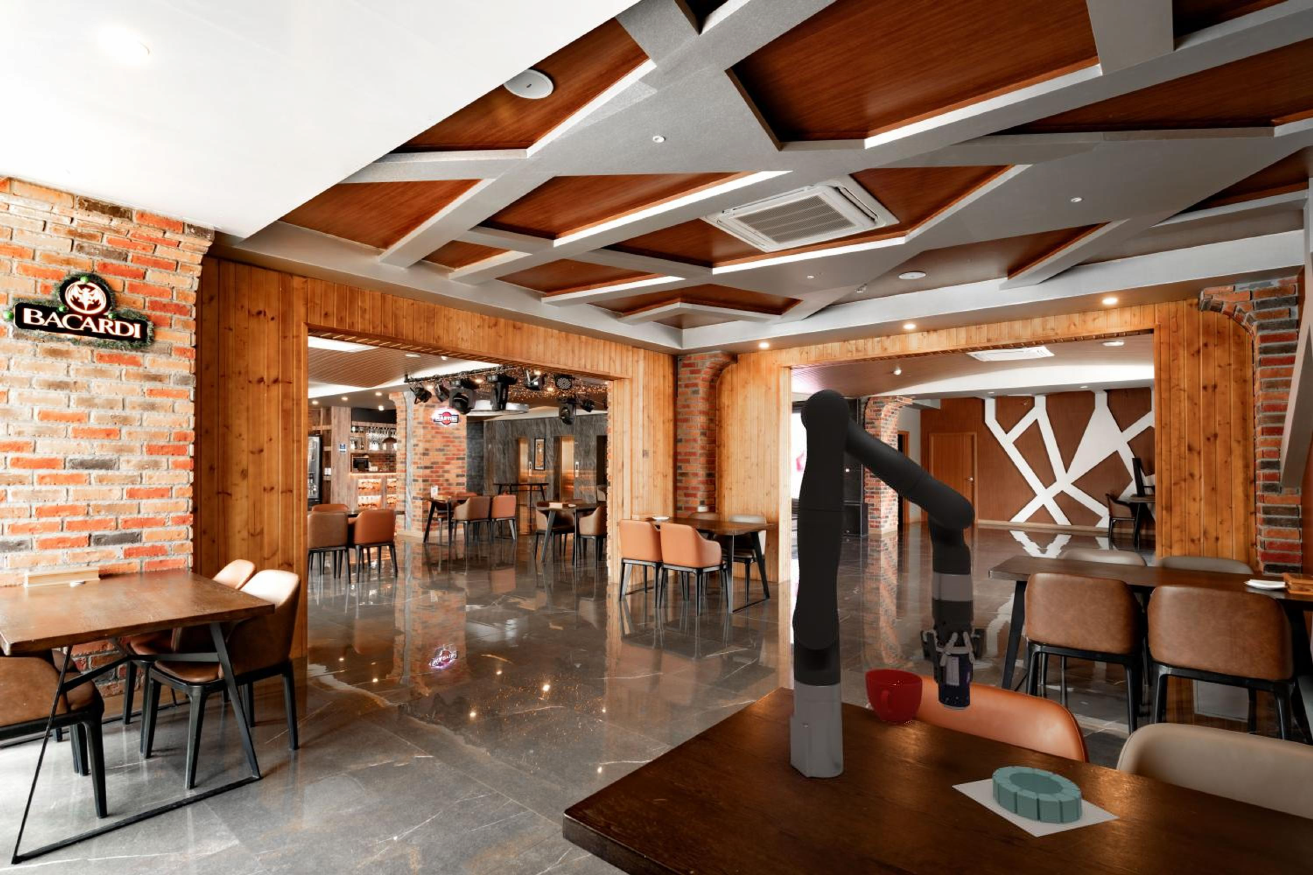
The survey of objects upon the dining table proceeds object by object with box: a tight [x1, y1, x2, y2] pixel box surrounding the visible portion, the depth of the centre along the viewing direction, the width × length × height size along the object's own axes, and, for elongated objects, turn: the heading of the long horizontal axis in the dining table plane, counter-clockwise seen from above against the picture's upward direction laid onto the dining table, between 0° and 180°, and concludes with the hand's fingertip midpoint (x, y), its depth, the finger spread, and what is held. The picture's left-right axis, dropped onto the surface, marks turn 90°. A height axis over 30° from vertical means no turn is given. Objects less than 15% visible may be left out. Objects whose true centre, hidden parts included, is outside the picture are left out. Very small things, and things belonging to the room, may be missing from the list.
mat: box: [951, 777, 1120, 838], centre depth 113 cm, size 18×18×1 cm
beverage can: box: [937, 645, 971, 711], centre depth 127 cm, size 6×6×12 cm
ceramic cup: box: [864, 668, 924, 725], centre depth 153 cm, size 13×17×10 cm
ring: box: [992, 765, 1082, 824], centre depth 112 cm, size 13×13×4 cm
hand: (953, 682), depth 127 cm, fingers closed on beverage can, 5 cm apart
